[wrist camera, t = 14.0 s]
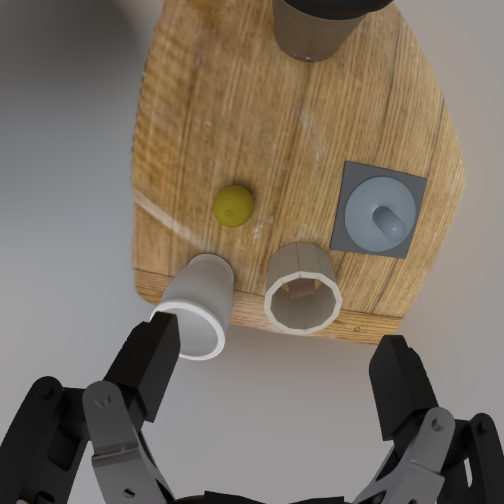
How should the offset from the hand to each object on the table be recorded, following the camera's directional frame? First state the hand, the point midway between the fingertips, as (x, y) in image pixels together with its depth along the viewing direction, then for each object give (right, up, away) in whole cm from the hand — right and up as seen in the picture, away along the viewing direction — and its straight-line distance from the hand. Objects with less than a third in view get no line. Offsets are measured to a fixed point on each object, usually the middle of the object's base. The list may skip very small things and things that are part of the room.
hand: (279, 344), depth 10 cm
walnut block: (+7, 0, +35) cm, 36 cm away
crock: (+7, 0, +35) cm, 36 cm away
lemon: (-3, +12, +31) cm, 33 cm away
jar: (-8, 0, +37) cm, 38 cm away
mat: (+19, +10, +29) cm, 36 cm away
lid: (+19, +9, +29) cm, 36 cm away
